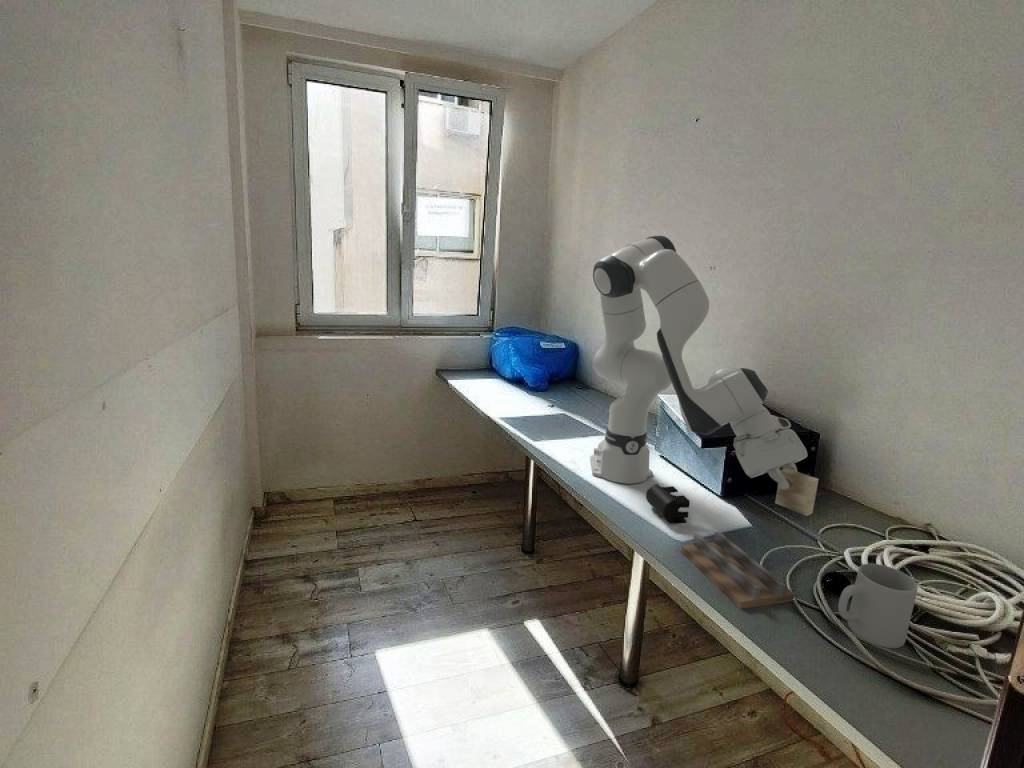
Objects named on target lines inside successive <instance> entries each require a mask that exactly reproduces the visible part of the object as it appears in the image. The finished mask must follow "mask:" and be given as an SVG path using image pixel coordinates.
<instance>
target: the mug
mask: <svg viewBox="0 0 1024 768" xmlns="http://www.w3.org/2000/svg"><path fill="white" fill-rule="evenodd" d="M918 588H919V587H918V584H917V582H916V581H915V579H913V577H911V576H909V575H908V574H906V573H905V572H902V571H901V570H898V569H896V568H893V567H890V566H887V565H883V564H878V563H864V564H861V565H860V566H859V567H858V570H857V575H856V578H855V583H854V584H849V585H847V586H846V587H844V588H843V590H842V592H841V594H840V597H839V600H838V613H839V615H840V617H841V618H842V619H843V620H845V621H847V625H848V628H849V629H850V631H852V632H853V633H854V634H855V635H856V636H858V637H859V638H861V639H862V640H864V641H866V642H868V643H870V644H872V643H873V645H874V644H875V646H877V645H878V647H881V648H885V649H898V648H901V647H903V646H905V645H904V644H906V640H907V637H908V631H909V626H910V622H911V618H912V614H913V610H914V606H915V602H916V598H917V593H918ZM850 598H851V602H850V607H849V610H847V609H848V603H849V601H850Z"/></svg>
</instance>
